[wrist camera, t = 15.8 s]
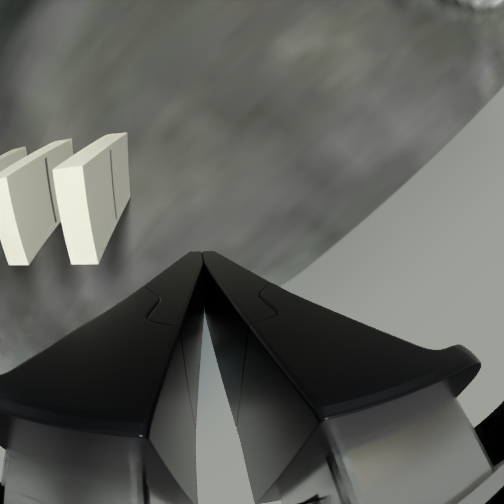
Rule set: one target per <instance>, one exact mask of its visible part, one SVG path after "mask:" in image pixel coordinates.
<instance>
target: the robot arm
mask: <svg viewBox="0 0 504 504" xmlns="http://www.w3.org/2000/svg"><path fill="white" fill-rule="evenodd" d="M204 310H205V316H206V320H207V324H208V328H209V332H210V336H211V340H212V344H213V348H214V352H215V355H216V359H217V363H218V367H219V370H220V373H221V377H222V381H223V384H224V388H225V391H226V395H227V398H228V401H229V405H230V408H231V412H232V415H233V418H234V421H235V425H236V427H237V431H238V434H239V438H240V442H241V446H242V450H243V454H244V459H245V463H246V468H247V472H248V477H249V481H250V485H251V489H252V494H253V498H254V502H255V504H260V503H266V502H272V501H278V500H281V502H282V504H504V401H503V402H502V404H501V405H500V406H499V407H498V408H497V409H495V410H494V411H493V412H492V413H491V414H490V415H489V416H488V417H487V418H486V419H484V420H483V421H482V422H481V423H480V424H479V425H477V426H476V427H475V428H474V427H473V426H472V424H471V422H470V420H469V418H468V417H467V415H466V413H465V412H464V410H463V408H462V407H461V405H460V403H459V402H458V400H457V398H456V397H457V396H458V395H459V394H460V393H461V392H462V391H463V390H464V389H465V388H466V387H467V386H468V384H469V383H470V382H471V381H472V380H473V379H474V378H475V376H476V375H477V373H478V372H479V370H480V368H481V362H480V361H479V359H478V358H477V357H476V356H475V355H474V354H473V353H472V352H471V351H470V350H468V349H467V348H465V347H464V346H462V345H455V346H451V347H448V348H446V349H441V350H431V349H426V348H423V347H420V346H417V345H414V344H412V343H410V342H407V341H405V340H402V339H400V338H397V337H395V336H392V335H390V334H388V333H385V332H382V331H380V330H377V329H375V328H373V327H370V326H368V325H365V324H363V323H361V322H358V321H355V320H353V319H351V318H348V317H346V316H344V315H341V314H339V313H336V312H334V311H332V310H329V309H327V308H325V307H322V306H320V305H317V304H315V303H312V302H310V301H308V300H306V299H304V298H301V297H299V296H297V295H295V294H292V293H290V292H288V291H286V290H284V289H282V288H280V287H279V286H277V285H275V284H273V283H270V282H269V281H267V280H265V279H263V278H261V277H260V276H258V275H256V274H254V273H252V272H251V271H249V270H247V269H245V268H243V267H242V266H240V265H238V264H236V263H234V262H233V261H231V260H229V259H227V258H225V257H224V256H222V255H220V254H218V253H217V252H215V251H204V252H203V253H202V252H200V251H198V252H189V253H187V254H186V255H185V256H183V257H182V258H180V259H179V260H178V261H176V262H175V263H174V264H172V265H171V266H170V267H168V268H167V269H166V270H164V271H163V272H162V273H160V274H159V275H158V276H156V277H155V278H154V279H152V280H151V281H150V282H148V283H147V284H146V285H144V286H143V287H141V288H140V289H138V290H137V291H136V292H134V293H133V294H131V295H130V296H129V297H127V298H126V299H124V300H123V301H121V302H120V303H118V304H116V305H115V306H113V307H112V308H110V309H108V310H107V311H105V312H103V313H102V314H100V315H98V316H97V317H95V318H93V319H92V320H90V321H89V322H87V323H85V324H84V325H82V326H80V327H79V328H77V329H76V330H74V331H72V332H71V333H69V334H68V335H66V336H64V337H63V338H61V339H59V340H58V341H56V342H55V343H53V344H52V345H50V346H48V347H47V348H45V349H44V350H42V351H40V352H39V353H37V354H36V355H34V356H33V357H31V358H29V359H28V360H26V361H25V362H23V363H22V364H20V365H19V366H17V367H15V368H14V369H12V370H11V371H9V372H7V373H4V374H2V375H0V446H1V447H3V448H4V449H5V450H6V451H5V457H4V463H3V471H2V480H1V482H0V504H198V500H197V499H198V498H197V478H196V448H195V447H196V418H197V400H198V384H199V370H200V357H201V344H202V333H203V321H204Z"/></svg>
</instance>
